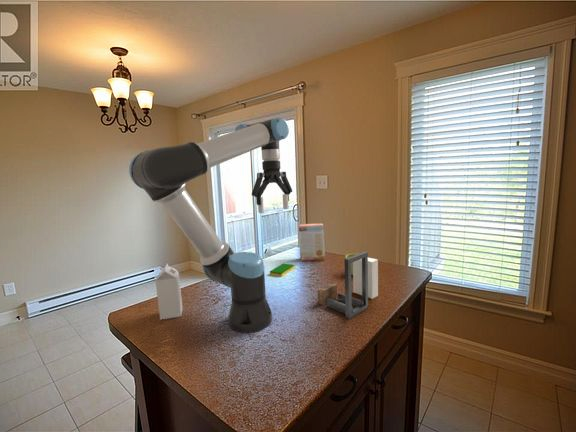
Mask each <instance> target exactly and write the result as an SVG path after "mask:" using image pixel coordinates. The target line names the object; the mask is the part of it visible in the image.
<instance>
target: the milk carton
mask: <svg viewBox="0 0 576 432" xmlns="http://www.w3.org/2000/svg"><path fill="white" fill-rule="evenodd" d="M165 264H166V265H165V267H164V269H162V271H161V272H160V273H158V275H157V277H156V279H155V281H154V282H155V288H156V295H157V305H158V312H159V320H160V321H161V320H162V319H163V320H167V319H172V318H173V319H174V318H179V317H182V312H183V309H184V308H183V299H182V291H181V282H180V281H181V280H180V274H179V271H178V270H177V268H175V267H172V266H169V263H167V262H166V263H165Z"/></svg>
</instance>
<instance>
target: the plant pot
mask: <svg viewBox="0 0 576 432" xmlns="http://www.w3.org/2000/svg"><path fill="white" fill-rule="evenodd" d="M356 254H357V253H348V254H346V255H345V259H346V258H348V257H351V256H354V255H356ZM351 276H353V262H352V263H351Z"/></svg>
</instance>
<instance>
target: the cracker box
mask: <svg viewBox="0 0 576 432" xmlns="http://www.w3.org/2000/svg"><path fill="white" fill-rule="evenodd" d="M298 232H299V235H298V236H299V238H298V239H299V255H300V262H305V261H306V262H309V261H310V262H311V261H315V262H318V261H325V260H326V259H325V235H324V234H325V232H324V224H323V223H301V224H299V225H298Z"/></svg>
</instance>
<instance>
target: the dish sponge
mask: <svg viewBox="0 0 576 432" xmlns="http://www.w3.org/2000/svg"><path fill="white" fill-rule="evenodd" d="M294 269H295V264H290V263H281V264H280V265H278V266H276V267H273V269H270V271H269V275H270V276H274V277H280V278H282V277H284V276H285V275H287V274H288V273H289V272H291V271H293V270H294Z"/></svg>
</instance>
